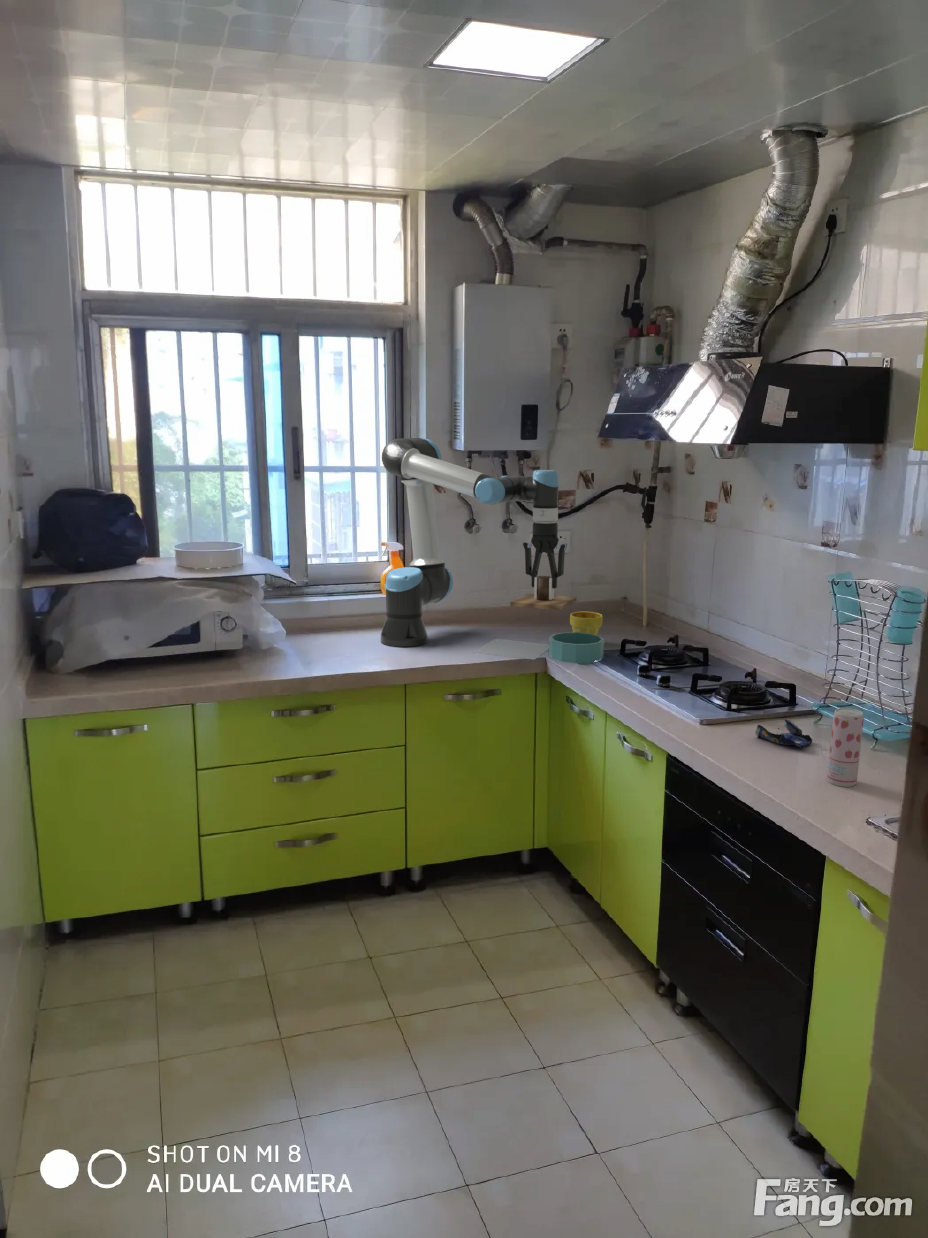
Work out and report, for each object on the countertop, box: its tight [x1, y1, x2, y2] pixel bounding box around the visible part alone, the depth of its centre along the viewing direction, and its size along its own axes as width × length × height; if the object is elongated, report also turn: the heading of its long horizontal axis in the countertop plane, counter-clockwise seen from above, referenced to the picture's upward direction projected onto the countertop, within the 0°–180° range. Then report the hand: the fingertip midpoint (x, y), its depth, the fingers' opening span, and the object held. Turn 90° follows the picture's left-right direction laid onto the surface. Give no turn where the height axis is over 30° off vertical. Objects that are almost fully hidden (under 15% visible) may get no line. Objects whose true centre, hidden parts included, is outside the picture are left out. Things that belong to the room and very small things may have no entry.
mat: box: [472, 638, 549, 660], centre depth 293 cm, size 20×20×1 cm
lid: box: [509, 575, 577, 611], centre depth 286 cm, size 16×16×8 cm
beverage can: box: [826, 707, 864, 788], centre depth 189 cm, size 6×6×15 cm
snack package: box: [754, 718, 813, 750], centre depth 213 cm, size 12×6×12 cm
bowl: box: [548, 631, 605, 665], centre depth 285 cm, size 16×16×6 cm
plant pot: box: [569, 610, 604, 636], centre depth 302 cm, size 10×10×10 cm
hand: (544, 598), depth 286 cm, fingers closed on lid, 4 cm apart
